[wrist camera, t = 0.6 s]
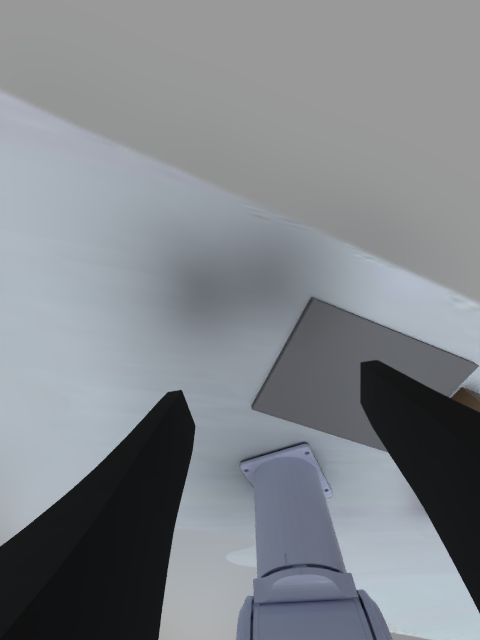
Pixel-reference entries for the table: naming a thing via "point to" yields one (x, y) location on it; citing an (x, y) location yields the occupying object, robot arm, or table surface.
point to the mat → (347, 371)
